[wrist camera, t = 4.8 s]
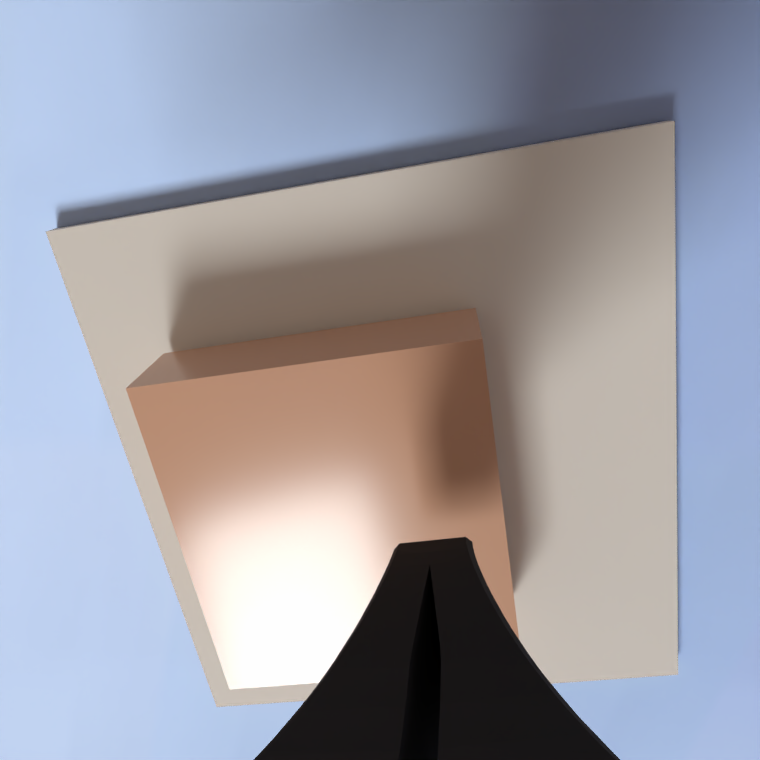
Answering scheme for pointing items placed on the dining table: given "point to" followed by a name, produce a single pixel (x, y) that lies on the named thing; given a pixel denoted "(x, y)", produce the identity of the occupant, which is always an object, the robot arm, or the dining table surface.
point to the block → (321, 478)
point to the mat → (501, 350)
